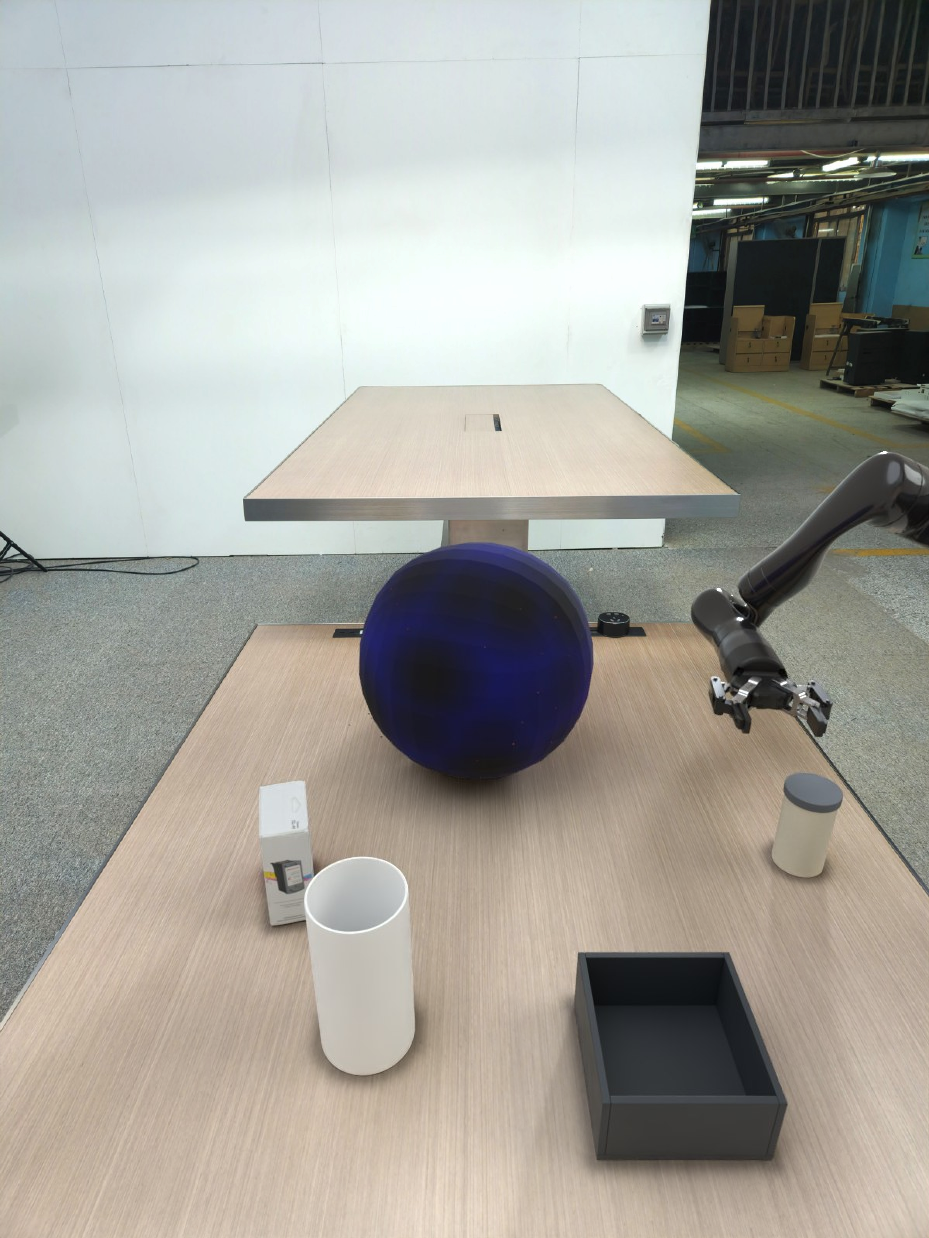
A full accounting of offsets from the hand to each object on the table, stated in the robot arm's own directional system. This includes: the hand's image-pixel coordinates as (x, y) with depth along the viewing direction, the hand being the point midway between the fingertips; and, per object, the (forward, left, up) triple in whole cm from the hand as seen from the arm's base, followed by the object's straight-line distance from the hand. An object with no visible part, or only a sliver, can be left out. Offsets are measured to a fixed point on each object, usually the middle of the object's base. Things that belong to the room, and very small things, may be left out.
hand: (784, 729), depth 90 cm
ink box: (+57, +16, -11) cm, 60 cm away
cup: (+47, +32, -11) cm, 58 cm away
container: (+1, +11, -10) cm, 15 cm away
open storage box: (+22, +36, -10) cm, 43 cm away
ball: (+39, -11, -11) cm, 42 cm away
